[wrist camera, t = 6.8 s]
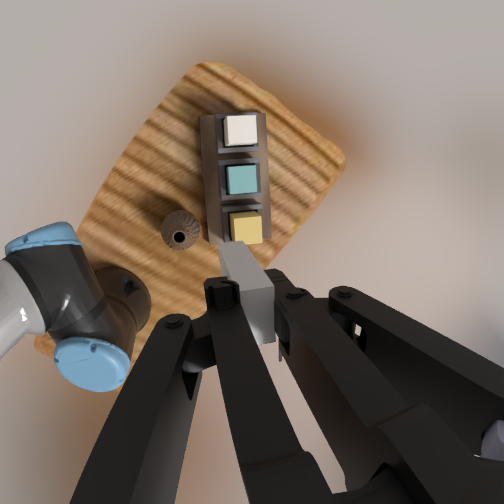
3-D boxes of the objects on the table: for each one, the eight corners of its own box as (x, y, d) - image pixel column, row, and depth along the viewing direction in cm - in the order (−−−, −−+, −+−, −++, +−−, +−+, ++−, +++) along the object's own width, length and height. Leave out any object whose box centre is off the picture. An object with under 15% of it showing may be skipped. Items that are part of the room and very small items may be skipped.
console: (209, 242, 53) (211, 251, 48) (199, 117, 46) (200, 111, 40) (269, 235, 56) (277, 243, 50) (263, 114, 48) (271, 109, 43)
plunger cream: (224, 146, 44) (228, 143, 39) (223, 121, 42) (227, 116, 38) (250, 144, 45) (257, 142, 40) (249, 119, 43) (255, 115, 39)
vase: (169, 202, 49) (165, 210, 41) (203, 213, 51) (206, 223, 43) (158, 237, 51) (152, 251, 43) (192, 247, 53) (193, 263, 45)
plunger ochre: (231, 237, 49) (235, 245, 44) (229, 213, 48) (233, 218, 43) (255, 235, 50) (262, 242, 45) (254, 210, 48) (261, 216, 44)
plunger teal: (226, 191, 48) (230, 194, 44) (224, 166, 47) (228, 167, 42) (250, 189, 49) (257, 192, 45) (249, 165, 48) (255, 165, 43)
